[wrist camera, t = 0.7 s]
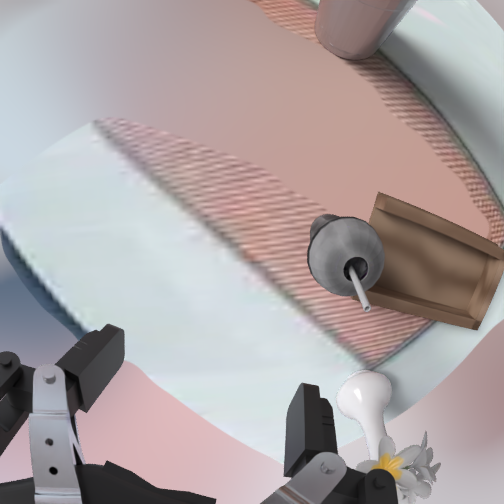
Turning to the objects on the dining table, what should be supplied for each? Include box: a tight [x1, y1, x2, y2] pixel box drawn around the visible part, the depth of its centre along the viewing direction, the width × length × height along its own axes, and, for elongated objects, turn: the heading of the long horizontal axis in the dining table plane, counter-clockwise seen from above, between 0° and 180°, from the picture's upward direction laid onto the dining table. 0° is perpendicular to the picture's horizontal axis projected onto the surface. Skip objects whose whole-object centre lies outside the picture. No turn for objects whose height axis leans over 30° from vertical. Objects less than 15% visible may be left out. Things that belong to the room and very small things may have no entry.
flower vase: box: [336, 370, 441, 504], centre depth 30 cm, size 13×18×25 cm
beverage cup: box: [307, 214, 385, 312], centre depth 27 cm, size 7×7×20 cm
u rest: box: [351, 192, 504, 330], centre depth 34 cm, size 14×24×4 cm, turn 75°
